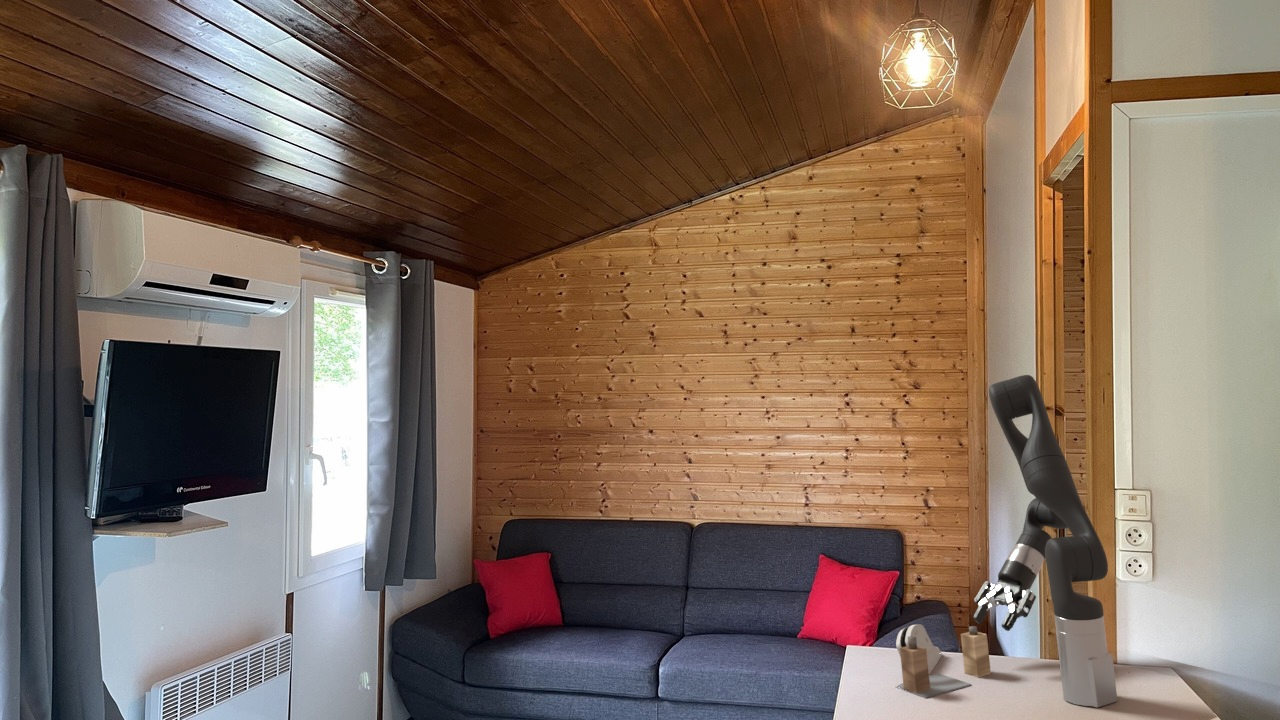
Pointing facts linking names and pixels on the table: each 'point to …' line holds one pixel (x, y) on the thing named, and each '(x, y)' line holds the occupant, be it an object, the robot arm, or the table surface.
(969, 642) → the wooden peg block
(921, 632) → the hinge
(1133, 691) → the table surface
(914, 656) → the mount
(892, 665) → the table surface
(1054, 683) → the table surface
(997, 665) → the table surface
